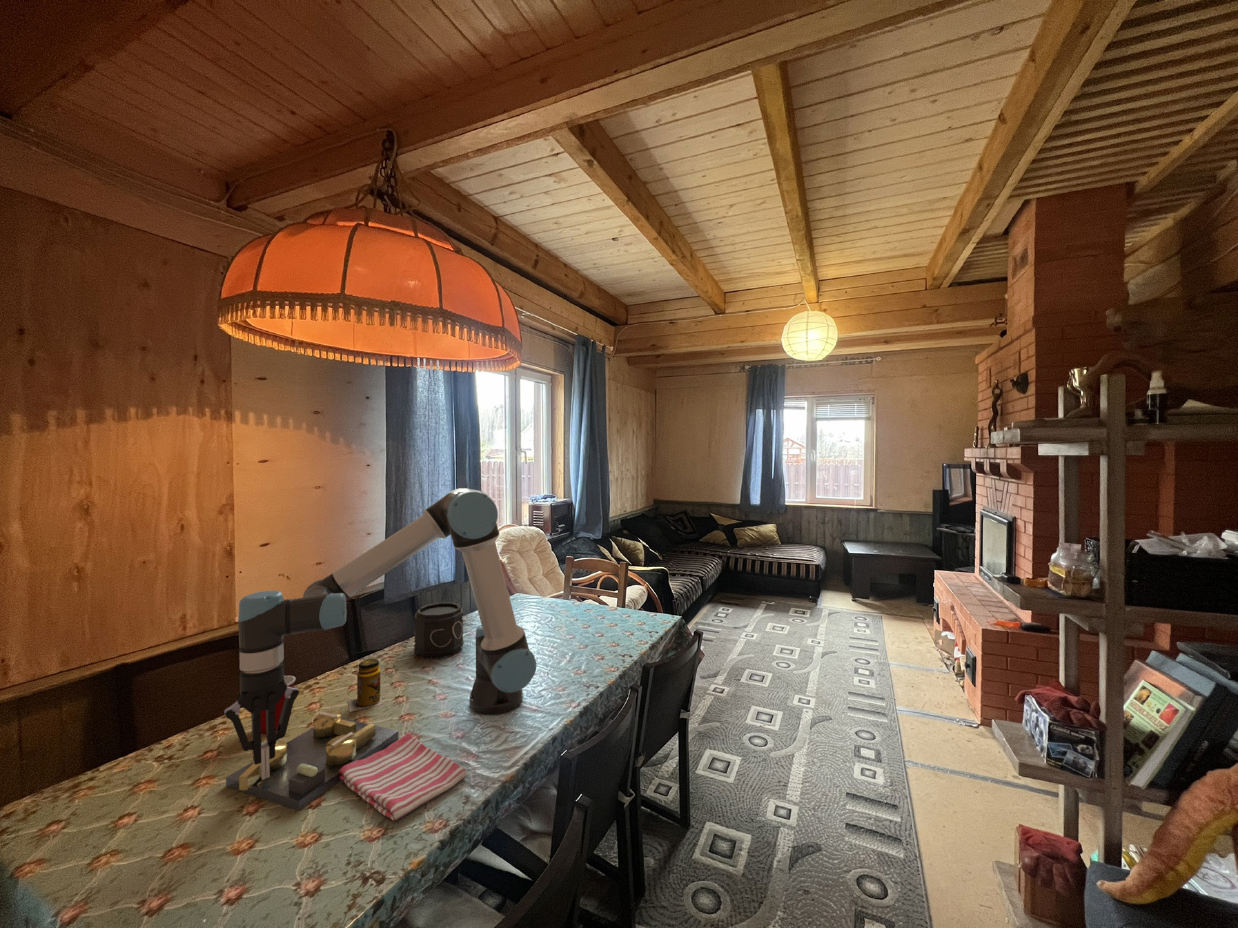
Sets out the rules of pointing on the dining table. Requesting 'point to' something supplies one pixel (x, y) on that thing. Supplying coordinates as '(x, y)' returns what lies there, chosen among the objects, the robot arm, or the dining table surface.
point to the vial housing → (306, 778)
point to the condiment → (367, 686)
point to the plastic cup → (277, 706)
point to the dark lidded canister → (438, 630)
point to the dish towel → (401, 777)
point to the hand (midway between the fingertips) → (264, 775)
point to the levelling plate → (309, 752)
